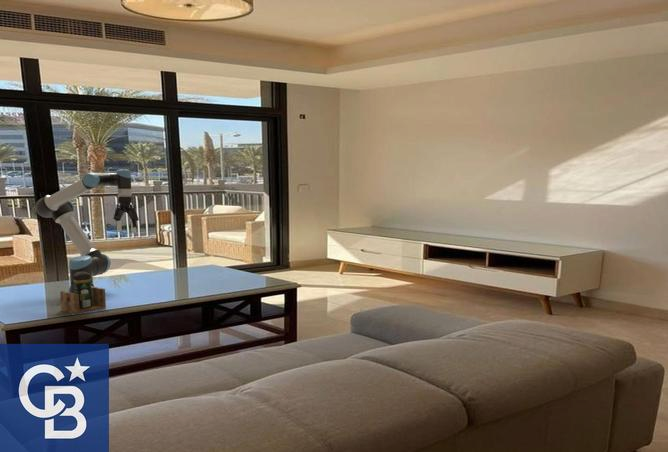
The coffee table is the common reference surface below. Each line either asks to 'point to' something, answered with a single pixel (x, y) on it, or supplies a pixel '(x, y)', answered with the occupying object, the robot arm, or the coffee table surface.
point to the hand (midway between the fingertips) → (126, 232)
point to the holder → (72, 301)
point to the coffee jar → (83, 289)
